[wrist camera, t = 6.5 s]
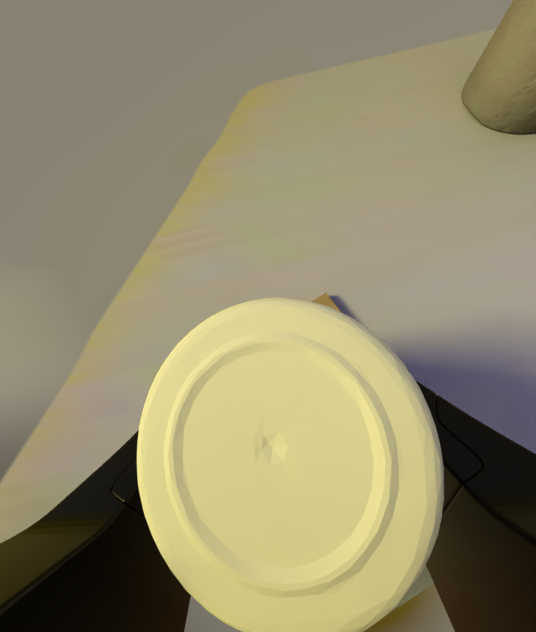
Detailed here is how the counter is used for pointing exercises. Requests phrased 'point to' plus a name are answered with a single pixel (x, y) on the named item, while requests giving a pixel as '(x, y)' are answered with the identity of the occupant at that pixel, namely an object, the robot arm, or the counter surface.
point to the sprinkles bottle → (290, 469)
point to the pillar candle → (507, 74)
